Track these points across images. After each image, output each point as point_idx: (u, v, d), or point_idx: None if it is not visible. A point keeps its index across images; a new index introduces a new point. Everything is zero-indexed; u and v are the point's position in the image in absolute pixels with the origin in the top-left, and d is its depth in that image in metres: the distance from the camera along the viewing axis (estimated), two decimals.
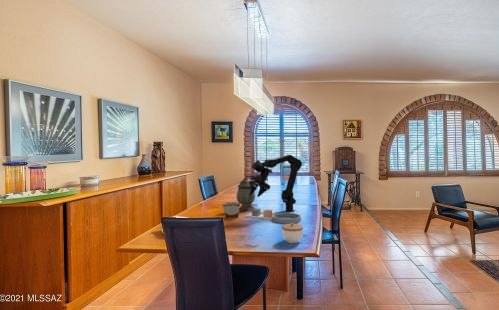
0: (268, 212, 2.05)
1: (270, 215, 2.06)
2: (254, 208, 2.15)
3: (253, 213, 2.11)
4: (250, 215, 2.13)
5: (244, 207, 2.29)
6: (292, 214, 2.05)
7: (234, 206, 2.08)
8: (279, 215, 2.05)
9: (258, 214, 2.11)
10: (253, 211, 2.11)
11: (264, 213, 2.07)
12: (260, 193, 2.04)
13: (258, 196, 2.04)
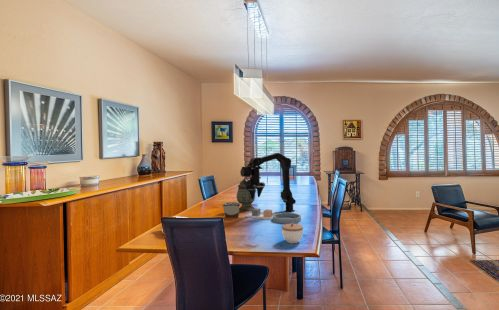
0: (268, 212, 2.05)
1: (270, 215, 2.06)
2: (254, 208, 2.15)
3: (253, 213, 2.11)
4: (250, 215, 2.13)
5: (244, 207, 2.29)
6: (292, 214, 2.05)
7: (234, 206, 2.08)
8: (279, 215, 2.05)
9: (258, 214, 2.11)
10: (253, 211, 2.11)
11: (264, 213, 2.07)
12: (252, 195, 2.07)
13: (252, 198, 2.08)
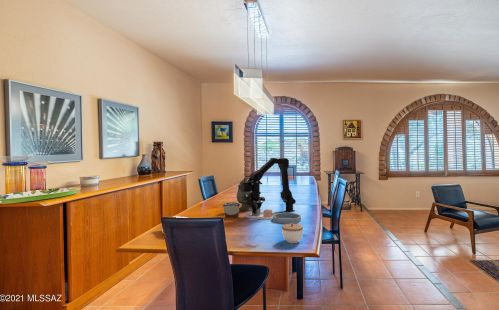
0: (268, 212, 2.05)
1: (270, 215, 2.06)
2: None
3: (253, 213, 2.11)
4: (250, 215, 2.13)
5: (244, 207, 2.29)
6: (292, 214, 2.05)
7: (234, 206, 2.08)
8: (279, 215, 2.05)
9: (258, 214, 2.11)
10: None
11: (264, 213, 2.07)
12: (254, 210, 2.09)
13: (254, 213, 2.10)
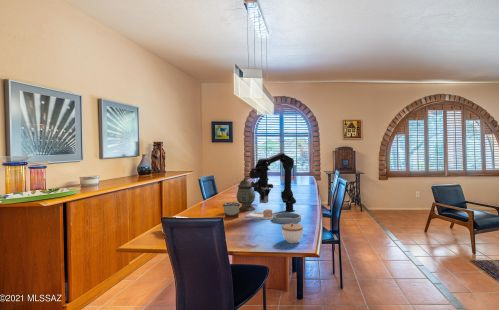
0: (268, 212, 2.05)
1: (270, 215, 2.06)
2: None
3: (261, 200, 2.07)
4: (250, 215, 2.13)
5: (244, 207, 2.29)
6: (292, 214, 2.05)
7: (234, 206, 2.08)
8: (279, 215, 2.05)
9: (266, 200, 2.07)
10: None
11: (264, 213, 2.07)
12: (261, 197, 2.05)
13: (262, 200, 2.06)
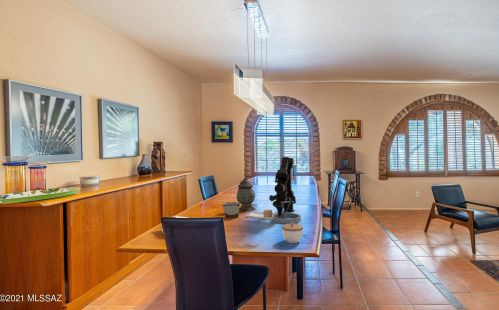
0: (268, 212, 2.05)
1: (270, 215, 2.06)
2: None
3: (279, 217, 1.98)
4: (250, 215, 2.13)
5: (244, 207, 2.29)
6: (292, 214, 2.05)
7: (234, 206, 2.08)
8: None
9: (285, 217, 1.99)
10: None
11: (264, 213, 2.07)
12: (279, 212, 1.95)
13: (279, 215, 1.95)
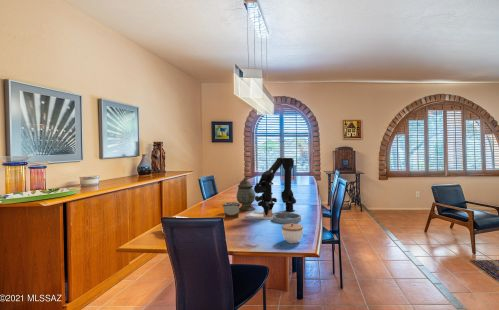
0: (268, 212, 2.05)
1: (270, 215, 2.06)
2: None
3: (279, 217, 1.98)
4: (250, 215, 2.13)
5: (244, 207, 2.29)
6: (292, 214, 2.05)
7: (234, 206, 2.08)
8: None
9: (285, 217, 1.99)
10: (279, 214, 1.98)
11: (264, 213, 2.07)
12: (265, 211, 2.05)
13: (266, 214, 2.06)
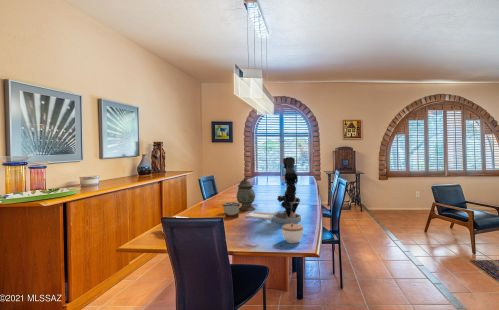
0: (292, 215, 1.94)
1: None
2: None
3: (279, 217, 1.98)
4: (250, 215, 2.13)
5: (244, 207, 2.29)
6: None
7: (234, 206, 2.08)
8: None
9: (285, 217, 1.99)
10: (279, 214, 1.98)
11: (287, 216, 1.96)
12: (288, 213, 1.92)
13: (288, 216, 1.93)
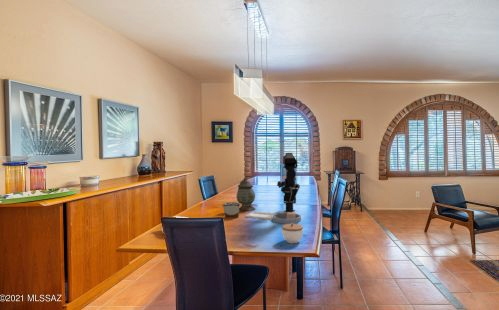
0: (292, 215, 1.94)
1: None
2: None
3: (279, 217, 1.98)
4: (250, 215, 2.13)
5: (244, 207, 2.29)
6: None
7: (234, 206, 2.08)
8: None
9: (285, 217, 1.99)
10: (279, 214, 1.98)
11: (287, 216, 1.96)
12: (288, 198, 1.92)
13: (288, 201, 1.92)
